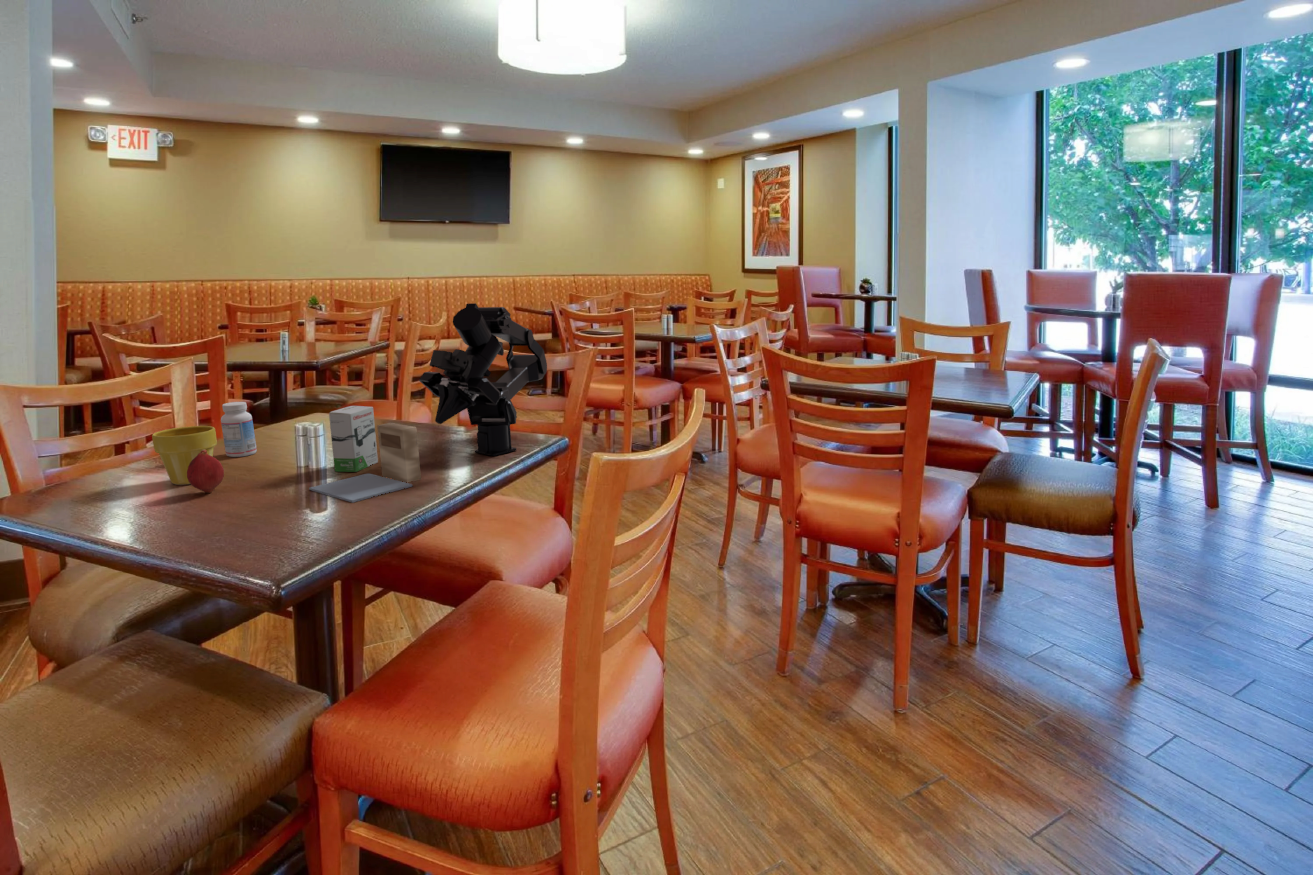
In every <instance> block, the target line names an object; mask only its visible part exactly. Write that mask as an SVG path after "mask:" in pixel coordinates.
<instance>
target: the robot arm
mask: <svg viewBox="0 0 1313 875" xmlns="http://www.w3.org/2000/svg"><path fill="white" fill-rule="evenodd" d="M452 324H453V326H454V328H455V330H456V332H457V333H458V334H459V336H460V338H461V339H462V341H463V343H464V345H466V346H467V348H466V349H465V350H463V349H454V350H453V352H451V351H448V350H447V351H446V350H439V349H433V352H432V354H431V358H430V361H429V366H430V367H432V368H434V367H435V368H437V369H440V370H442V371H443V373H440V372H436V371H425V372H423V373H422V374H421V376H420V377H419V382H420V383H421V384H422V385H423V386H424V387H425V388H427V389H428V391H430V392H431V393H432V394H433V395H434V396H436V397H438V398H439V400H438V404H437V405H438V406H437V411H436V414H435V418H434V421H435V423H437V424H439V425H442V424H443V423H445V422H447V421H448V420H451V419H452V418H453V417H454V416H456V415H458V414H460V413H461V412H463V411H465V410H467V414H468V418H469V421H470V422H469V423H470V425H471V426H475V425H476V426H477V432H476V440H477V442H476V443H477V449H474V453H476V454H482V455H487V456H493V457H496V456H499V455H504V454H507V453H511V452H515V451H517V447H514V446H512V436H511V435H512V434H511V425H515V424H517V418H518V416H517V414H518V413H517V410H516V408H515V406H514V404H513V402H512V399H513V398H514V397H515V396H516V395H517V394H518V393H519V392H520V391H521V390H522V389H523V388H524V387H525V385H527V383H531V382H537V381H539V380H542V379H543V378H545V375H547V372H548V362H547V357H546V355H545V350H544V348H543V347H542V346H541V345H540V344H539V342H537V341H536V339H535V337H534V333H533V330H532V329H529V328H527V327H524V325H523V326H522V325H521V324H519V323H518V322H516V321H514V320H512V318H511V313H510V312H509V310H508V309H507V308H506V307H504V306H489V307H488V306H487V307H486V306H485V307H484V306H483V307H482V306H480V307H479V306H478V305H477V303H476V302H474V303H468V302H467V303H466V305H465V307H463V308H461V309H460V310H458V311H457V312H456V313H455V315H454V316H453V318H452ZM499 339H501V340H503V341H504V342H506V343H508V345H509V349H508V352H507V354H506V357H505V359H506V360H505V361H506V364H507V368H508V370H507V371H506V372H505V373H504V374H503V375H502V376H501V377H500V378H499V379H498V380H496V381H495V382H491V381H490V380H489V379H488V378H487V377H490V376H491V374H492V372H491V371H490V370H489V369H490V367H491V365H492V364H493V362H494V361H495V358H496V357H497V356H504V354H505V353H504V352H505V350H504V346H503V342H502V341H500V340H499ZM518 346H519V347H520V346H521V347H523V346H524V347H527V348H528V349H529V351H530V352H531V353H532V354H514V352H513V349H514V347H518ZM442 374H443V375H442ZM445 376H446V377H448V378H446V377H445Z"/></svg>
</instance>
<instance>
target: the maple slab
mask: <svg viewBox="0 0 1313 875" xmlns="http://www.w3.org/2000/svg"><path fill="white" fill-rule="evenodd" d="M376 426H377V437H378V445H379V446H378V448H379V456H380V466H381V477H382V476H383V477H385V478H386V477H387V478H389V479H390V478H392V479H393V480H394V479H395V480H397V481H401V482H402V481H403V482H405V483H406V482H407V483H408V482H409V483H412V482H411V481H413V482H416V481H419V480H422V475H421V474H422V472H421V464H420V453H419V452H420V450H419V443H418V441H419V440H418V431H417V427H416V426H412V425H406V424H401V423H394V422H388V423H383V424H382V423H381V424H377V425H376Z"/></svg>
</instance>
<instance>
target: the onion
mask: <svg viewBox="0 0 1313 875" xmlns="http://www.w3.org/2000/svg"><path fill="white" fill-rule="evenodd" d="M187 478H188V481H189V483H190V484H189V485H191V486H192V487H193V488H195V489H198V490H200V491H202V492H205V493H206V494H210V493H212V492H213V491H215V489H216V488H217V487H218V486H219V485H220V484H221V483H222V481H223V480H224V478H225V469H224V467H223V464H222V463H221V461H220V460H219V459H217V458H216V457H214V456H213V457H212V456H210V455H208V454H207V451H206V449H205V450H201V452H200V453H199V454H198V455H197V456H196V457H195V458H194V459H193V460H192V461H191V462H190V464H189V466H188V470H187Z"/></svg>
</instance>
